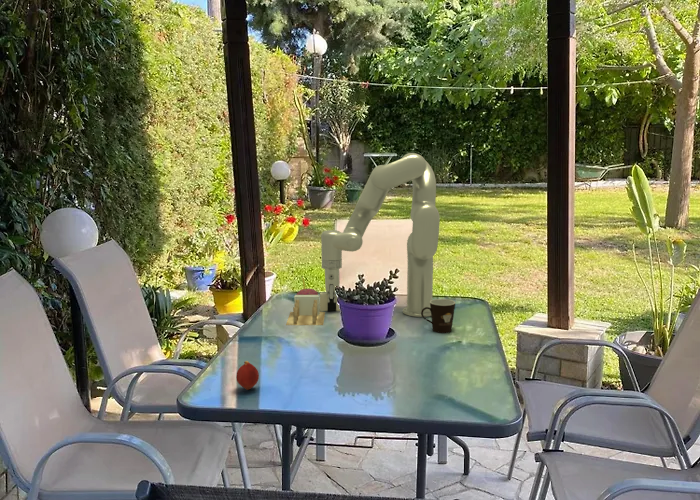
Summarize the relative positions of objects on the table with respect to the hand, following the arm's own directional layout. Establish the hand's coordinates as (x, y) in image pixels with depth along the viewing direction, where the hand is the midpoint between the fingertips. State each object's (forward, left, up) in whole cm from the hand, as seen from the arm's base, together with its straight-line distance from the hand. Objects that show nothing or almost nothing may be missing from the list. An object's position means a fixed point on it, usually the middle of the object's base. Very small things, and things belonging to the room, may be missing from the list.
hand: (332, 311), depth 241 cm
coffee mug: (-37, +21, -1) cm, 43 cm away
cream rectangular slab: (0, 0, -1) cm, 1 cm away
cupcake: (+10, -11, -1) cm, 15 cm away
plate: (+9, +6, 0) cm, 11 cm away
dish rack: (+9, +11, -1) cm, 14 cm away
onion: (+20, +73, -1) cm, 76 cm away
